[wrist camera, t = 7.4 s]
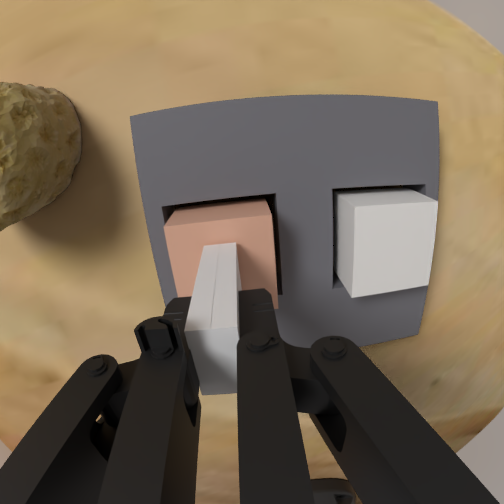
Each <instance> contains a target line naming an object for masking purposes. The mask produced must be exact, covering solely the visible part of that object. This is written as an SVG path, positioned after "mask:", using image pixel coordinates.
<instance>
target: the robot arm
mask: <svg viewBox="0 0 504 504" xmlns="http://www.w3.org/2000/svg"><path fill="white" fill-rule="evenodd" d="M134 332H135V335H136V338H137V341H138V344H139V346H140V349H141V352H142V353H141V356H140V358H139V359H137V360H134V361H130V362H126V363H122V364H118V363H117V361H116V360H115V358H114V357H112V356H110V355H103V354H101V355H96V356H93V357H91V358H89V359H87V360H86V361H85V362H83V363H82V364H81V365H80V367H79V368H78V369H77V370H76V371H75V373H74V374H73V375H72V376H71V378H70V379H69V380H68V381H67V382H66V384H65V385H64V386H63V387H62V389H61V390H60V391H59V392H58V394H57V395H56V396H55V397H54V399H53V400H52V401H51V402H50V404H49V405H48V406H47V407H46V409H45V410H44V411H43V413H42V414H41V415H40V416H39V418H38V419H37V420H36V422H35V423H34V424H33V425H32V427H31V428H30V429H29V431H28V432H27V433H26V435H25V436H24V437H23V439H22V440H21V441H20V443H19V444H18V445H17V447H16V448H15V449H14V451H13V452H12V454H11V455H10V456H9V458H8V459H7V461H6V462H5V463H4V465H3V466H2V467H1V469H0V504H195V491H196V474H197V458H198V443H199V430H200V417H201V403H200V400H199V397H198V394H199V386H200V390H201V393H202V395H216V394H231V393H237V409H238V451H239V485H240V504H355V500H356V496H355V492H356V493H357V495H358V497H359V498H360V500H361V501H362V503H363V504H499V502H498V501H497V500H496V499H495V498H494V497H493V496H492V494H491V493H490V492H489V491H488V490H487V489H486V487H485V486H484V485H483V484H482V483H481V482H480V481H479V479H478V478H477V477H476V476H475V475H474V474H473V473H472V472H471V471H470V469H469V468H468V467H467V466H466V465H465V464H464V463H463V462H462V460H461V459H460V458H459V457H458V456H457V455H456V454H455V453H454V451H453V450H452V449H451V448H450V447H449V446H448V445H447V444H446V442H445V441H444V440H443V439H442V438H441V437H440V436H439V435H438V434H437V433H436V431H435V430H434V429H433V428H432V427H431V426H430V425H429V424H428V423H427V421H426V420H425V419H424V418H423V417H422V416H421V415H420V414H419V413H418V412H417V410H416V409H415V408H414V407H413V406H412V405H411V404H410V403H409V402H408V401H407V399H406V398H405V397H404V396H403V395H402V394H401V393H400V392H399V391H398V390H397V389H396V387H395V386H394V385H393V384H392V383H391V382H390V381H389V380H388V379H387V378H386V377H385V376H384V374H383V373H382V372H381V371H380V370H379V369H378V368H377V367H376V366H375V365H374V364H373V363H372V361H371V360H370V359H369V358H368V357H367V356H366V355H365V354H364V353H363V352H362V351H361V350H360V348H359V347H358V346H357V345H356V344H355V343H354V342H352V341H351V340H350V339H348V338H345V337H342V336H326V337H322V338H320V339H318V340H316V341H315V342H314V343H313V344H312V345H311V348H303V347H296V346H293V345H290V344H288V343H286V342H285V341H284V340H283V339H282V338H281V337H280V334H279V330H278V325H277V320H276V315H275V311H274V306H273V301H272V296H271V294H270V293H269V292H268V291H267V290H266V289H265V288H260V289H251V290H242V287H241V279H240V271H239V263H238V255H237V246H236V242H234V243H225V244H215V245H206V246H204V247H203V251H202V255H201V259H200V264H199V268H198V272H197V276H196V281H195V285H194V289H193V293H192V296H189V297H177V298H173V299H172V300H171V301H170V302H169V303H168V304H167V305H166V308H165V311H164V315H163V316H159V317H153V318H150V319H147V320H145V321H143V322H141V323H140V324H139V325H137V327H136V328H135V329H134ZM297 412H301V413H309V416H310V418H311V419H312V421H313V423H314V424H315V426H316V428H317V430H318V431H319V433H320V435H321V436H322V438H323V440H324V441H325V443H326V445H327V446H328V448H329V449H330V451H331V453H332V454H333V456H334V458H335V459H336V461H337V463H338V464H339V466H340V468H341V469H342V471H343V472H344V474H345V476H346V477H347V479H348V481H349V482H348V481H345V480H340V479H319V480H310V475H309V470H308V465H307V460H306V454H305V449H304V444H303V439H302V434H301V429H300V424H299V419H298V414H297ZM100 414H101V416H102V417H101V418H100V419H99V420H98V421H97V422H96V419H97V418H98V416H99V415H100ZM354 490H355V492H354Z"/></svg>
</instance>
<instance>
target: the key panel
mask: <svg viewBox="0 0 504 504" xmlns="http://www.w3.org/2000/svg"><path fill="white" fill-rule="evenodd" d="M130 122H131V130H132V138H133V145H134V152H135V159H136V166H137V172H138V179H139V185H140V191H141V196H142V202H143V207H144V213H145V218H146V223H147V228H148V233H149V238H150V243H151V247H152V252H153V256H154V261H155V265H156V270H157V274H158V278H159V282H160V286H161V291H162V295H163V299H164V302H165V306H166V305H167V304H168V303H169V302H170V301H171V300H172V299H173V298H177V297H178V294H177V290H176V286H175V281H174V276H173V272H172V267H171V262H170V258H169V253H168V248H167V243H166V237H165V232H164V225H165V224H166V222H167V221H168V220H169V218H170V217H171V215H172V214H173V212H174V211H175V209H174V205H176V204H183V203H191V202H199V201H207V200H215V199H224V198H233V197H242V196H252V195H262V194H271V202H272V214H273V227H274V241H275V255H276V269H277V273H276V279H277V294H278V309H274V311H275V315H276V320H277V325H278V330H279V334H280V337H281V338H282V339H283V340H284V341H285V342H286V343H288V344H290V345H293V346H296V347H303V348H311V345H312V344H313V343H314V342H315V341H316V340H318V339H320V338H322V337H326V336H342V337H345V338H348V339H350V340H351V341H352V342H354V343H355V344H356V345H357V346H358V347H362V346H367V345H372V344H377V343H382V342H387V341H391V340H396V339H400V338H405V337H409V336H413V335H417V334H418V333H419V328H420V324H421V319H422V315H423V310H424V305H425V300H426V294H427V289H428V285H426V286H420V287H415V288H409V289H403V290H398V291H392V292H386V293H380V294H373V295H367V296H361V297H354V298H351V296H350V294H349V293H348V291H347V290H346V288H345V287H344V285H343V283H342V282H341V280H340V279H339V277H338V275H337V274H336V272H335V271H334V266H333V201H332V189H335V188H350V187H368V186H389V185H402V188H409V189H412V190H414V191H416V192H418V193H421V194H423V195H425V196H427V197H430V198H432V199H434V200H436V201H438V190H439V116H438V102H436V101H428V100H420V99H410V98H399V97H385V96H367V95H289V96H270V97H256V98H245V99H234V100H225V101H217V102H209V103H201V104H194V105H188V106H182V107H176V108H170V109H164V110H159V111H153V112H148V113H143V114H139V115H134V116H130Z"/></svg>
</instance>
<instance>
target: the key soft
mask: <svg viewBox="0 0 504 504" xmlns="http://www.w3.org/2000/svg"><path fill="white" fill-rule="evenodd" d="M437 210H438V201H436V200H434V199H432V198H430V197H427V196H425V195H423V194H421V193H418V192H416V191H414V190H412V189H409V188H389V189H370V190H352V191H337V192H334V271H335V272H336V274H337V275H338V277H339V279H340V280H341V282H342V283H343V285H344V287H345V288H346V290H347V291H348V293H349V294H350V296H351V298H354V297H361V296H367V295H373V294H380V293H386V292H392V291H398V290H403V289H409V288H415V287H420V286H426V285H428V284H429V278H430V271H431V265H432V258H433V250H434V242H435V232H436V222H437Z"/></svg>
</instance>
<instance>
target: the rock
mask: <svg viewBox="0 0 504 504" xmlns="http://www.w3.org/2000/svg"><path fill="white" fill-rule="evenodd" d="M81 141H82V135H81V124H80V122H79V120H78V117H77V114H76V112H75V109H74V106H73V104H72V103H70V100H69V99H68V98H67V97H65V96H64V95H63V94H62V93H60V92H59V91H57V90H56V89H53V88H44V87H39V86H33V85H31V84H29V85H22V84H18V83H6V82H0V231H2V230H3V229H4V228H6V227H8V226H10V225H11V224H14V223H17V222H19V221H20V220H21V219H23V218H25V217H28V216H30V215H32V214H34V213H35V212H37V211H39V210H40V209H41V208H42V207H44V206H45V205H48V204H50V203H51V202H52V201H54V200H55V198H56V196H57V195H59V194H60V193H62V192H63V191H64V190H65V189H66V188H67V187H68V185H69V184H70V182H71V178H72V173H73V171H74V168H75V166H76V164H77V163H79V160H80V155H81V153H82V151H81Z"/></svg>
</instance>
